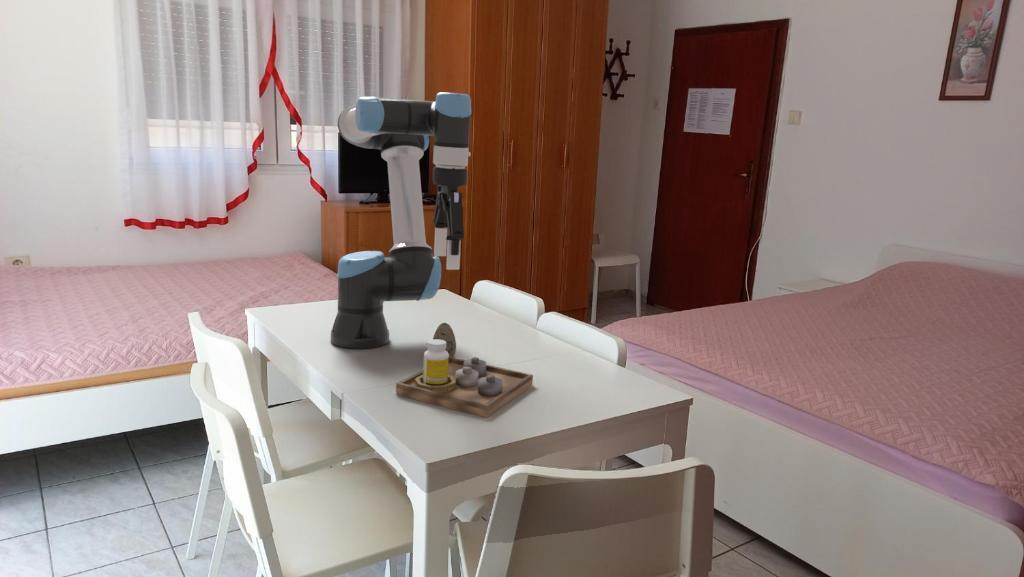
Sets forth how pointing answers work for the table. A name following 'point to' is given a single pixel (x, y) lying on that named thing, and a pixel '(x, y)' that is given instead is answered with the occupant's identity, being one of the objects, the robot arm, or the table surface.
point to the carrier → (469, 387)
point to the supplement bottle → (436, 363)
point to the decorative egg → (446, 338)
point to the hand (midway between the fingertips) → (446, 262)
